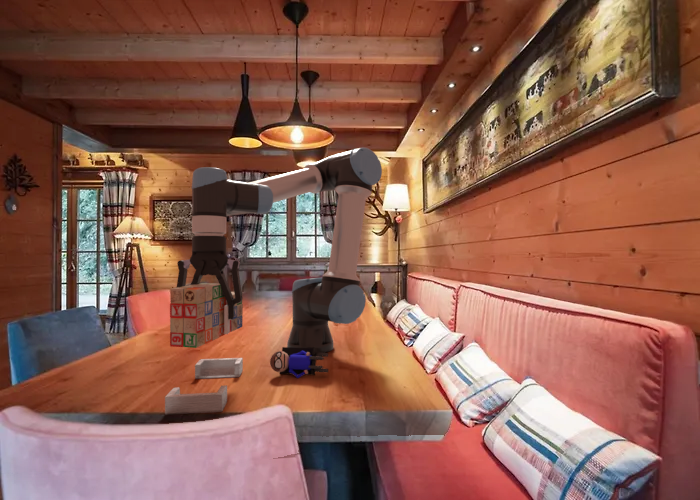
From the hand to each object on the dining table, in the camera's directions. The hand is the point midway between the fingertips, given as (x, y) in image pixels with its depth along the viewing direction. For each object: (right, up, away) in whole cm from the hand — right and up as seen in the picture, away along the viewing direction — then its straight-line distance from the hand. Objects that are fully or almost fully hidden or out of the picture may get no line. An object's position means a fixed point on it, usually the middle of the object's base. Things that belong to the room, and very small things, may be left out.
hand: (209, 333), depth 90 cm
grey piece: (-1, -13, +11) cm, 17 cm away
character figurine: (+20, -13, +10) cm, 26 cm away
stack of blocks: (0, -1, +1) cm, 1 cm away
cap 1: (+1, -13, -10) cm, 17 cm away
